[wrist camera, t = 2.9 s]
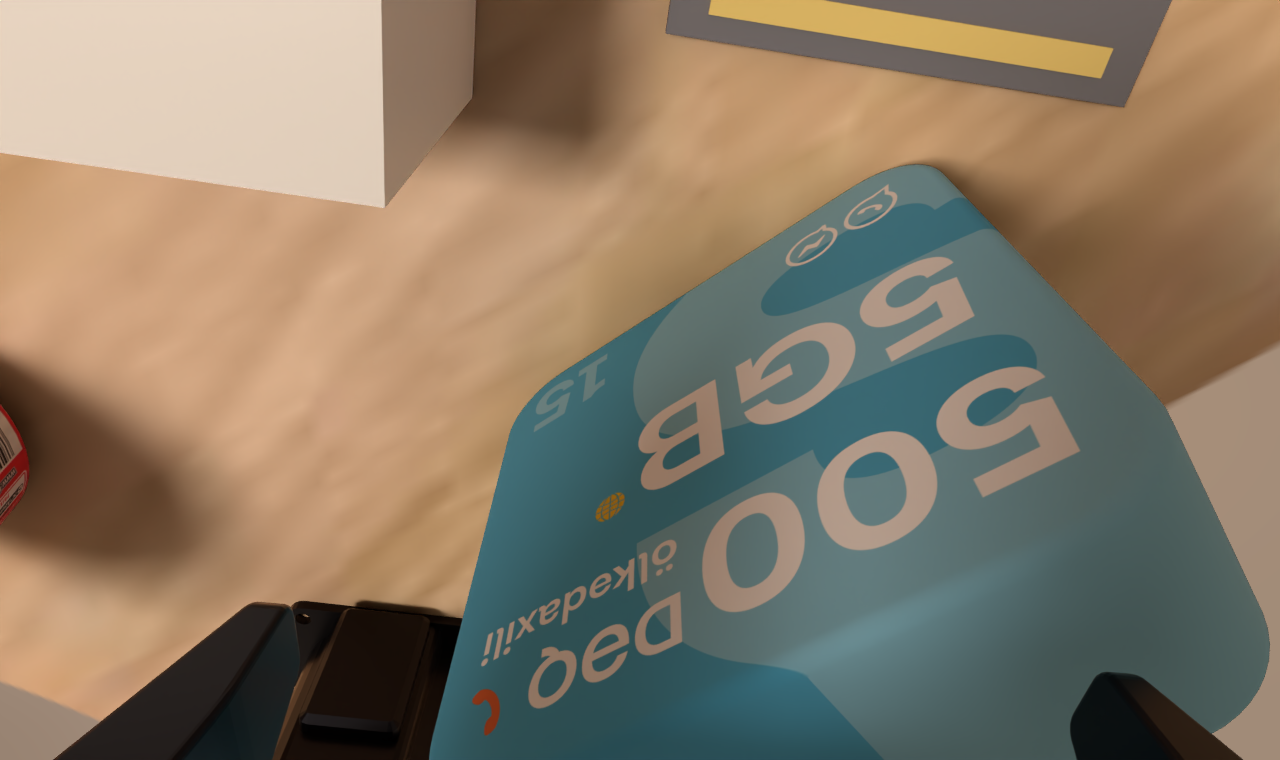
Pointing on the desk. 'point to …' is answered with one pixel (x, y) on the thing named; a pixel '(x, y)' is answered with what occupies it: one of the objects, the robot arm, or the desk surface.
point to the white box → (238, 88)
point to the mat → (950, 38)
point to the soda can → (11, 465)
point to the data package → (846, 519)
